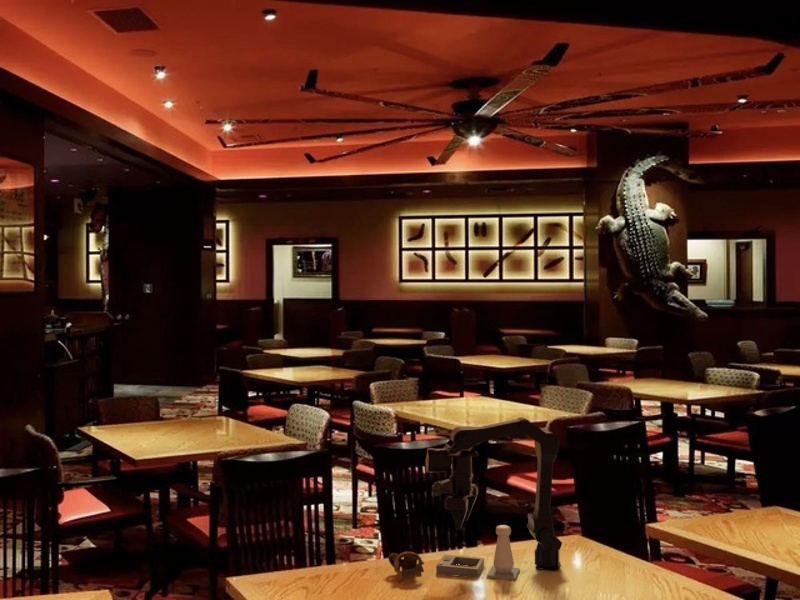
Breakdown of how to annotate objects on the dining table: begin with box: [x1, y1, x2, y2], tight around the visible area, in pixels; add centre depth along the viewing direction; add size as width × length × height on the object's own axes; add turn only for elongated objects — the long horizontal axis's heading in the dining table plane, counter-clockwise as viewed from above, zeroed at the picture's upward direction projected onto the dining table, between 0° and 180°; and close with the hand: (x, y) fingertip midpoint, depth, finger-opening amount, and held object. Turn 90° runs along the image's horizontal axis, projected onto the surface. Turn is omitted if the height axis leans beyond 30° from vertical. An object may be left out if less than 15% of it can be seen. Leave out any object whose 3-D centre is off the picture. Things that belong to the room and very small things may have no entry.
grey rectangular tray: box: [435, 554, 485, 579], centre depth 229 cm, size 12×10×3 cm
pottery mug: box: [388, 551, 425, 584], centre depth 224 cm, size 12×10×8 cm
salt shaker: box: [493, 524, 515, 574], centre depth 225 cm, size 6×6×13 cm
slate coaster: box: [486, 565, 520, 582], centre depth 225 cm, size 8×8×1 cm
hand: (461, 525), depth 229 cm, fingers open, 9 cm apart
